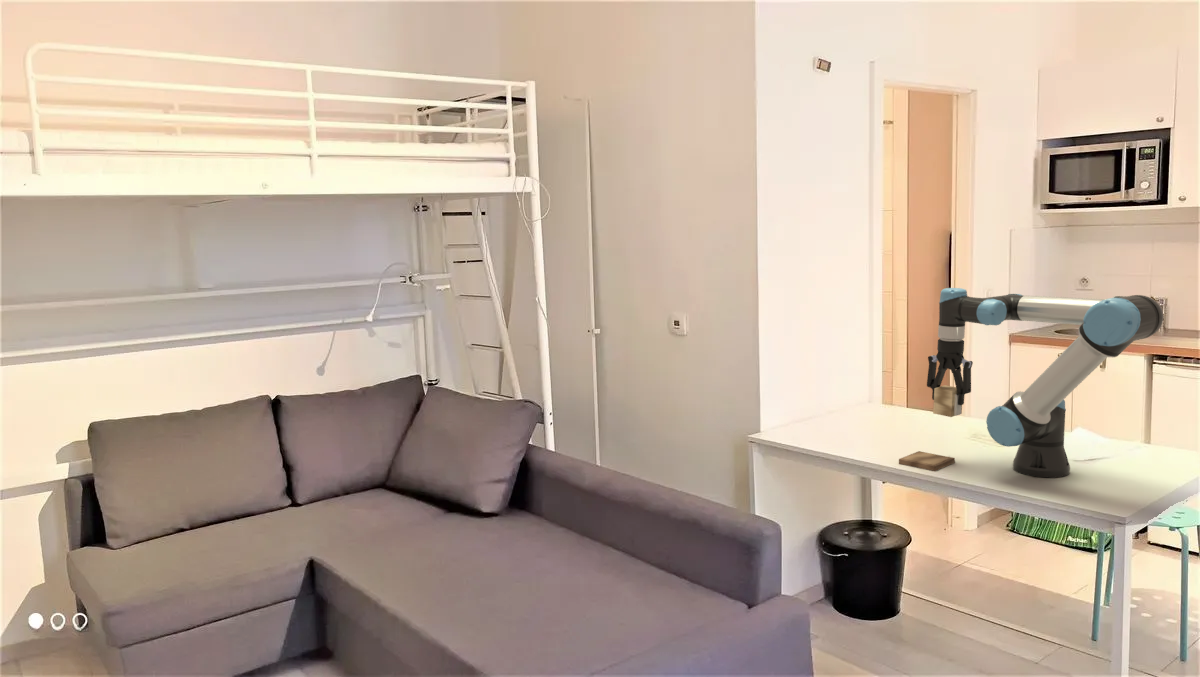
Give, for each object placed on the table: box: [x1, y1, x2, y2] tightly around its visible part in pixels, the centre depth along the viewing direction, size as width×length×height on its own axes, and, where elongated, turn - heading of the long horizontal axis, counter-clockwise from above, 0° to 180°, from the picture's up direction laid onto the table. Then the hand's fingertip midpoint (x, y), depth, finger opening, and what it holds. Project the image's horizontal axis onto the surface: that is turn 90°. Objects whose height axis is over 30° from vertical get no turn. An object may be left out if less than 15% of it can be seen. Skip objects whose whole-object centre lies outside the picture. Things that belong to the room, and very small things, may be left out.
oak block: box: [932, 385, 963, 418], centre depth 272 cm, size 6×6×8 cm
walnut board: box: [898, 450, 956, 472], centre depth 273 cm, size 12×12×2 cm
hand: (947, 412), depth 272 cm, fingers closed on oak block, 6 cm apart
